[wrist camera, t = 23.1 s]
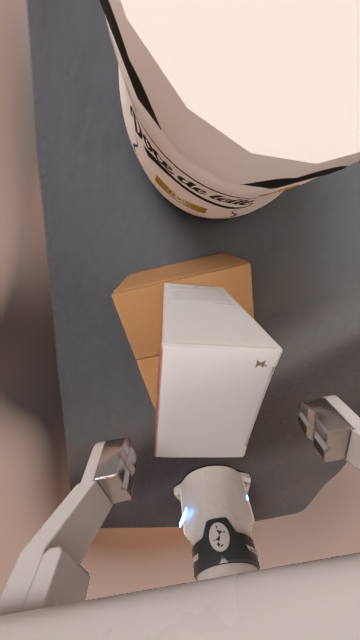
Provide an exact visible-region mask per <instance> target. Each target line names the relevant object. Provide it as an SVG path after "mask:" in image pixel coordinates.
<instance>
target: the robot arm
mask: <svg viewBox="0 0 360 640" xmlns="http://www.w3.org/2000/svg"><path fill="white" fill-rule="evenodd" d="M299 409H300V410H301V412H300V413H299V414H298V420H299V423H300V426H301V428H302V430H303V432H304V433H305V435H306V436H307V437H308V438H310V439H312V440H313V441H314V448H315V449H316V451H317V452H318V454H319V455H320V456H321V458H322V459H323V461H324V462H330V461H337V460H343V459H346V461H347V462H349V463H350V464H352V465H353V466H354V467H356V468H357V469H359V470H360V417H359V416H357V415H356V414H355V413H354V412H353V411H352V410H351V409H350V408H349V407H348V406H347V405H346V404H345V403H344V402H343V401H342V400H340V399H339V398H338V397H337V396H335V395H330V396H326V397H319V398H315V399H310V400H306V401H301V402H300V403H299ZM130 442H131V441H130V440H129V438H128V437H127V438H121V439H116V440H110V441H104V442H99V443H96V444H95V445H94V447H93V449H92V452H91V455H90V458H89V461H88V463H87V466H86V469H85V472H84V475H83V477H82V480H81V483H79V484H77V485H76V486H75V487H74V488H73V490H72V491H71V492H70V493H69V494H68V496H67V497H66V498H65V499H64V501H63V502H62V503H61V504H60V505H59V507H58V508H57V509H56V510H55V511H54V513H53V514H52V515H51V516H50V518H49V519H48V520H47V521H46V523H44V525H43V526H42V527H41V528H40V530H39V531H38V532H37V533H36V534H35V536H34V537H33V538H32V539H31V540H30V542H29V543H28V544H27V545H26V546H25V548H24V549H23V550H22V551H21V553H20V555H19V557H18V559H17V561H16V564H15V566H14V568H13V570H12V572H11V574H10V576H9V578H8V581H7V583H6V585H5V587H4V589H3V592H2V593H1V596H0V640H360V553H354V554H348V555H342V556H337V557H331V558H325V559H320V560H314V561H308V562H303V563H298V564H291V565H285V566H280V567H274V568H269V569H263V570H259V568H260V567H259V563H258V556H257V552H256V550H255V547H254V543H253V540H252V539H251V531H252V529H253V524H254V523H255V520H254V516H253V513H252V509H251V505H250V502H249V498H248V491H249V486H250V482H251V478H250V475H249V474H247V473H242V472H238V471H236V470H235V469H233V468H230V467H226V466H207V467H203V468H200V469H197V470H195V471H193V472H191V473H190V474H188V475H187V476H186V477H185V478H184V480H183V481H182V483H181V484H179V485H177V486H176V487H175V488H174V489H173V490H174V495H175V496H176V497H177V498H178V500H179V501H180V502H181V508H182V518H181V520H180V522H179V528H181V526H182V524H183V531H184V535H185V536H186V537H187V539H188V540H189V541H190V542H191V544H192V546H193V548H192V556H193V560H192V563H193V568H194V577H195V579H196V580H197V581H194V582H189V583H183V584H177V585H172V586H165V587H160V588H154V589H148V590H143V591H137V592H131V593H126V594H120V595H114V596H109V597H103V598H97V599H92V600H86V601H85V598H86V593H87V589H88V584H89V579H90V576H89V573H88V572H87V571H86V570H85V569H84V568H83V567H82V566H81V565H80V563H81V561H82V559H83V558H84V556H85V554H86V552H87V551H88V549H89V547H90V545H91V543H92V542H93V540H94V538H95V536H96V534H97V532H98V531H99V529H100V527H101V525H102V524H103V522H104V520H105V518H106V516H107V515H108V513H109V511H110V509H111V508H112V506H113V505H112V504H114V503H118V502H123V501H127V500H132V493H133V486H134V480H133V478H132V475H133V474H134V472H135V470H136V453H135V450H134V448H133V447H131V446H130Z"/></svg>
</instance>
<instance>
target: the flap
mask: <svg viewBox="0 0 360 640" xmlns="http://www.w3.org/2000/svg"><path fill="white" fill-rule="evenodd" d="M137 364H138V366H139V369H140V372H141V374H142V377H143V380H144V382H145V385H146V388H147V390H148V393H149V395H150V398H151V401H152V403H153V406H154V408H156V397H157V378H158V364H159V355H155V356H150V357H146V358H141V359H137Z"/></svg>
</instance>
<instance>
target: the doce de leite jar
mask: <svg viewBox="0 0 360 640" xmlns="http://www.w3.org/2000/svg"><path fill="white" fill-rule="evenodd" d="M100 3H101V5H102V8H103V10H104V13H105V17H106V22H107V26H108V30H109V34H110V37H111V41H112V44H113V48H114V51H115V55H116V58H117V61H118V64H119V88H120V97H121V104H122V110H123V115H124V120H125V124H126V128H127V132H128V135H129V138H130V142H131V144H132V147H133V149H134V152H135V154H136V156H137V158H138V161H139V163H140V165H141V166H142V168H143V170H144V172H145V173H146V175H147V177H148V178H149V180H150V181H151V182H152V184H153V185H154V186H155V187H156V189H157V190H158V191H159V192H160V193H161V194H162V195H163V196H164V197H165V198H166V199H167V200H169V201H170V202H171V203H173V204H174V205H175V206H177V207H178V208H180V209H182V210H184V211H186V212H188V213H190V214H193V215H196V216H199V217H203V218H209V219H226V218H233V217H238V216H242V215H245V214H248V213H250V212H253V211H255V210H257V209H259V208H261V207H263V206H264V205H266V204H268V203H269V202H271V201H272V200H274V199H275V198H276V197H278V196H279V195H280V194H281V193H283V192H284V191H285V190H287V189H290V188H293V187H297V186H300V185H302V184H304V183H307V182H309V181H311V180H313V179H315V178H317V177H319V176H323V175H326V174H330V173H333V172H336V171H339V170H341V169H343V168H345V167H347V166H349V165H351V164H353V163H355V162H357V161H359V160H360V0H100Z"/></svg>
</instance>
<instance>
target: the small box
mask: <svg viewBox="0 0 360 640" xmlns="http://www.w3.org/2000/svg"><path fill="white" fill-rule="evenodd" d="M282 351H283V350H282V348H281V347H280V346H279V345H278V344H277V343H276V342H275V341H274V340H273V339H272V338H271V337H270V336H269V334H268V333H267V332H266V331H265V330H264V329H263V328H262V327H261V326H260V325H259V324H258V323H257V322H256V321H255V320H254V319H253V318H252V317H251V316H250V315H249V314H248V313H247V312H246V311H245V310H244V309H243V308H242V307H241V306H240V304H239V303H238V302H237V301H236V300H235V299H234V298H233V297H232V296H231V295H230V294H229V293H228V292H227V291H226V290H225V289H224V288H223V287H210V286H198V285H186V284H173V283H164V293H163V308H162V323H161V335H160V348H159V364H158V378H157V397H156V424H155V456H156V457H243V456H244V454H245V451H246V448H247V444H248V440H249V437H250V434H251V432H252V429H253V426H254V423H255V420H256V418H257V415H258V412H259V409H260V406H261V403H262V401H263V398H264V395H265V392H266V390H267V387H268V384H269V382H270V379H271V377H272V374H273V372H274V369H275V367H276V366H277V363H278V361H279V358H280V356H281V354H282Z"/></svg>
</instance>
